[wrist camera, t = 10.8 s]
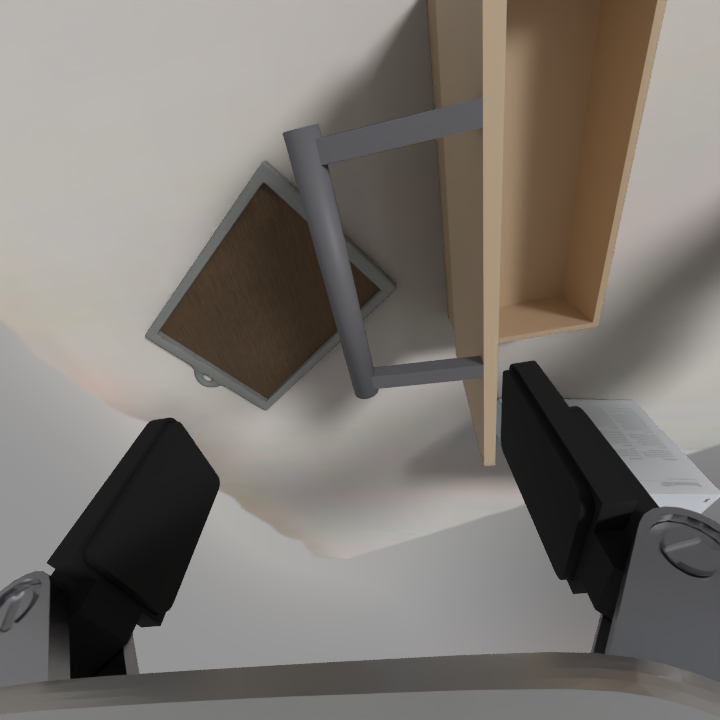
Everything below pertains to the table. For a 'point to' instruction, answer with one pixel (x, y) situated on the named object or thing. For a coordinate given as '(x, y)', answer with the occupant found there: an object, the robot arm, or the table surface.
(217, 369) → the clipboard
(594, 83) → the mailer box
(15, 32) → the table surface
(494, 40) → the lid
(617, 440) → the skincare box
